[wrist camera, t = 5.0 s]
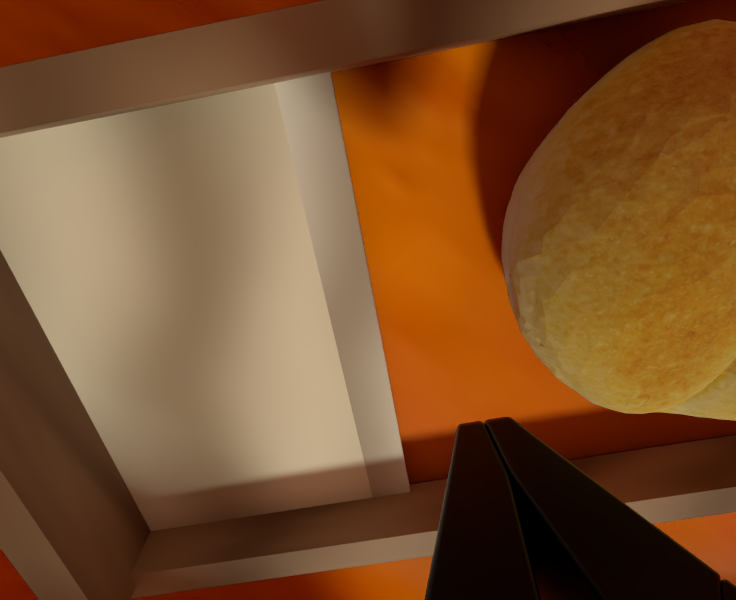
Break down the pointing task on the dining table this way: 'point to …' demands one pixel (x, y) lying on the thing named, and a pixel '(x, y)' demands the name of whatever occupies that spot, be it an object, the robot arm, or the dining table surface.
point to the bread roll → (636, 232)
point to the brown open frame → (226, 311)
